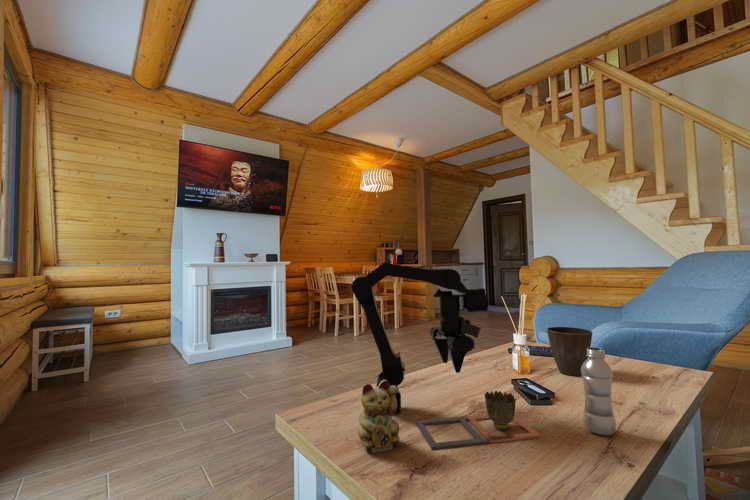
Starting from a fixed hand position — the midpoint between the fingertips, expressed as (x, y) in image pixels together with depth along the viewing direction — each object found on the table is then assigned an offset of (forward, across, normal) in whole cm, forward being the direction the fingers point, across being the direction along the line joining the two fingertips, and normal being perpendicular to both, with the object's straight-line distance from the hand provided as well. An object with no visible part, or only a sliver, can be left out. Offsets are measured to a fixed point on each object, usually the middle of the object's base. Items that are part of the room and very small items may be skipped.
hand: (451, 367), depth 96 cm
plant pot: (+12, +22, -56) cm, 61 cm away
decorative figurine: (+12, -14, +24) cm, 30 cm away
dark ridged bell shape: (+12, -12, -8) cm, 19 cm away
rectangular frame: (+12, -12, -1) cm, 17 cm away
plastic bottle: (+12, -19, -30) cm, 38 cm away
